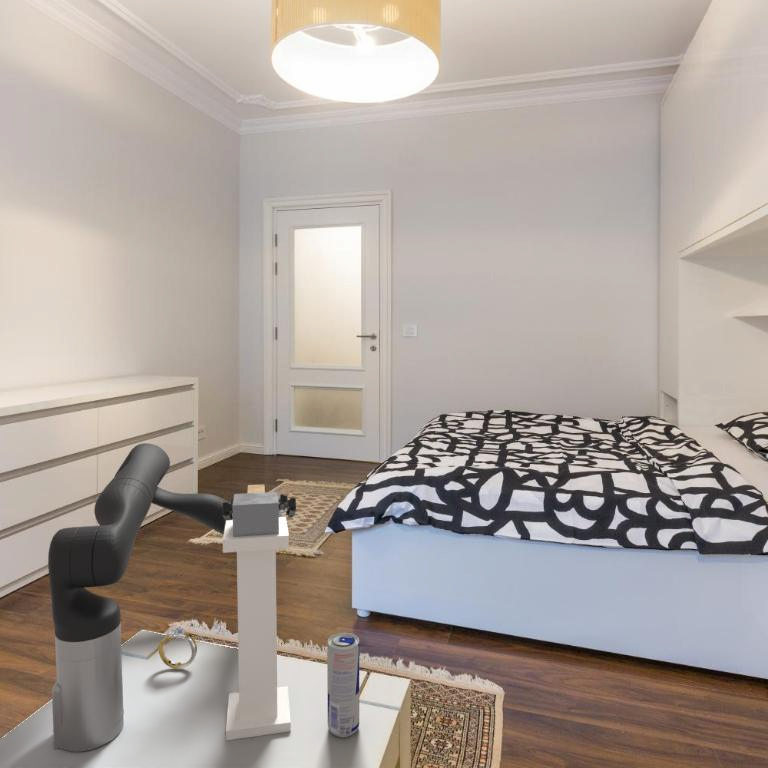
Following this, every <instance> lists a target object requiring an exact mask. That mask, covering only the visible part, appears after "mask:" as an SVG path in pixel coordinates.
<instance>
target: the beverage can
mask: <svg viewBox="0 0 768 768" xmlns="http://www.w3.org/2000/svg"><path fill="white" fill-rule="evenodd" d="M326 646H327V650H326V652H327V653H326V654H327V655H326V656H327V657H326V658H327V667H326V668H327V672H326V673H327V678H326V679H327V682H326V683H327V685H326V686H327V728H328V730H329V732H331V734H333V735H334V736H336V737H338V738H348V737H350V736H353V734H355V733H356V732H357V731H358V729H359V727H360V639H359V637H358V636H357V635H356V634H354V633H350V632H339V633H335V634H332V635H331V636H329V637H328V639H327V645H326Z"/></svg>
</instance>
